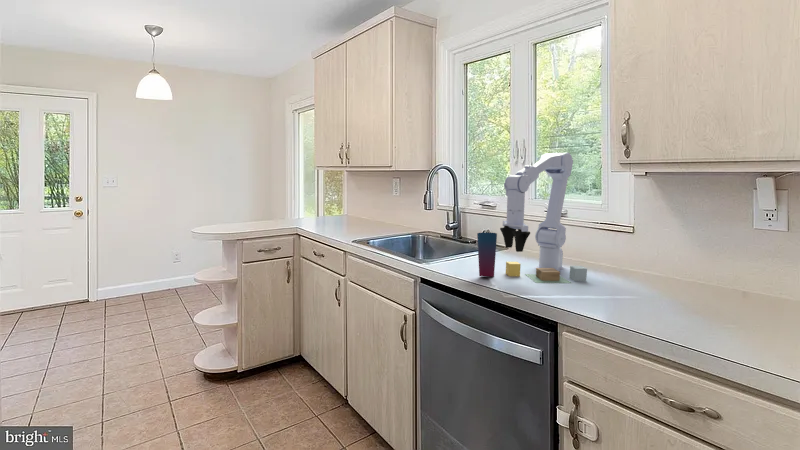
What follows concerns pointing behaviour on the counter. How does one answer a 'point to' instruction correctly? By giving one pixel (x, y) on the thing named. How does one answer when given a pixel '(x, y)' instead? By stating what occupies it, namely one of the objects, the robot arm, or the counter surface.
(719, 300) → the counter surface
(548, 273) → the base brick
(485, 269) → the cup
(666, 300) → the counter surface
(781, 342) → the counter surface
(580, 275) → the brick
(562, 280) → the baseplate
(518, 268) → the mustard brick
